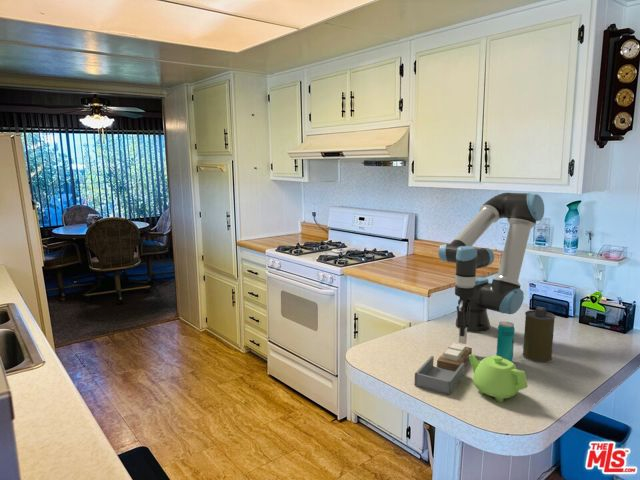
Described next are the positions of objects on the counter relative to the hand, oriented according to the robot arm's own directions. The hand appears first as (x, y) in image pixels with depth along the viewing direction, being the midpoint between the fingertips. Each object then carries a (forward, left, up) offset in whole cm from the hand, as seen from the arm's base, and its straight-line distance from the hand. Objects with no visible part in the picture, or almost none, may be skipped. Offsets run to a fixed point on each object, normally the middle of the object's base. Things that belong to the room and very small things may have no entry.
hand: (462, 342), depth 178 cm
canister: (-11, +26, -4) cm, 28 cm away
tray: (+28, 0, -4) cm, 28 cm away
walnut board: (+10, 0, -4) cm, 11 cm away
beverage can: (0, +16, -4) cm, 17 cm away
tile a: (+7, 0, -1) cm, 7 cm away
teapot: (+27, +18, -4) cm, 33 cm away
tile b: (+14, 0, -1) cm, 14 cm away
